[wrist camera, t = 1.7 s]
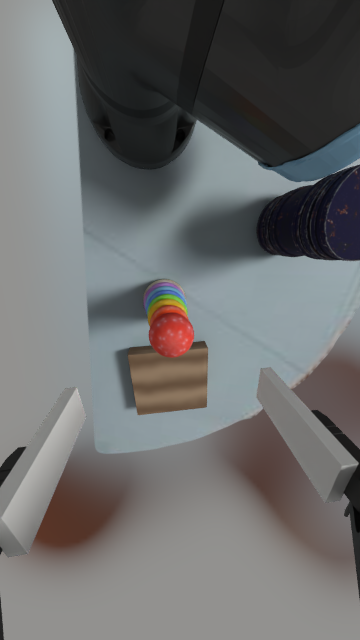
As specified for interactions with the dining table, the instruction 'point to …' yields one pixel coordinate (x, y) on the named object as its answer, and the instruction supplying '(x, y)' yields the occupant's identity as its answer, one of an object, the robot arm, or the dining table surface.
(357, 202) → the storage jar
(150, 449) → the dining table surface
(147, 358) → the walnut base
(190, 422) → the dining table surface
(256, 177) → the dining table surface
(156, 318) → the stacking toy
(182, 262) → the dining table surface
